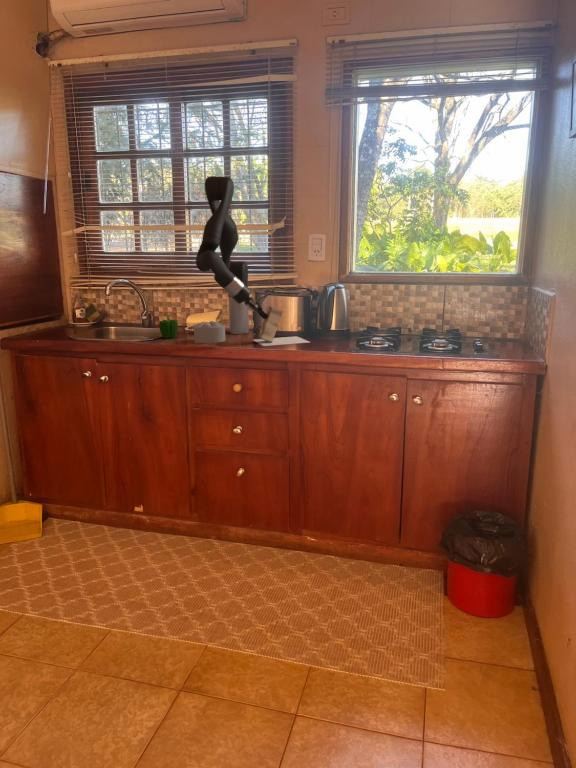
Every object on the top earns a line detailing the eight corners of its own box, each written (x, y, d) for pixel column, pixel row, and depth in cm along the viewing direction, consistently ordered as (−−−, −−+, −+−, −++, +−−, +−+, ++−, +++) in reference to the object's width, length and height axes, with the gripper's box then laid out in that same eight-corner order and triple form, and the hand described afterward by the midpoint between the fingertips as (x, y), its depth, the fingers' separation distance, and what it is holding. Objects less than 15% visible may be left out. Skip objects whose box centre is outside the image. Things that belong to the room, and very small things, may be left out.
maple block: (257, 337, 234) (268, 306, 232) (268, 340, 236) (278, 309, 234) (261, 339, 229) (272, 307, 228) (272, 342, 231) (282, 311, 230)
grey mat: (252, 341, 239) (252, 339, 239) (296, 337, 246) (296, 336, 246) (263, 347, 224) (263, 345, 224) (310, 343, 232) (310, 342, 232)
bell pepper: (175, 339, 245) (173, 317, 243) (157, 339, 246) (156, 316, 244) (181, 336, 253) (180, 314, 251) (164, 335, 254) (163, 314, 252)
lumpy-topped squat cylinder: (201, 339, 245) (200, 320, 243) (228, 340, 242) (228, 320, 240) (192, 343, 235) (191, 323, 233) (221, 344, 232) (220, 324, 230)
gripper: (247, 283, 217) (277, 312, 224) (238, 281, 229) (266, 309, 236) (235, 297, 217) (265, 326, 224) (226, 294, 229) (255, 322, 236)
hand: (265, 317), depth 230 cm, fingers closed
